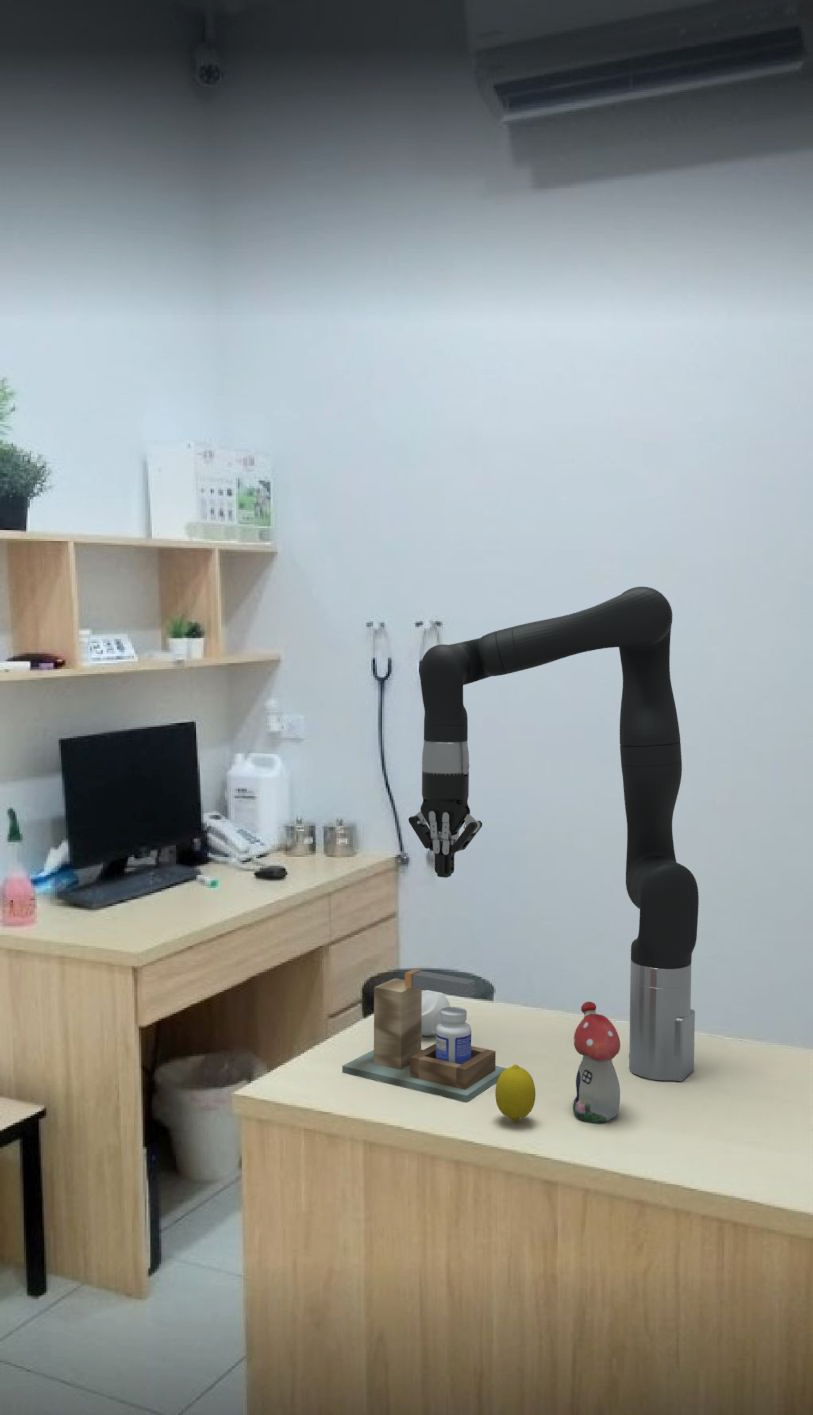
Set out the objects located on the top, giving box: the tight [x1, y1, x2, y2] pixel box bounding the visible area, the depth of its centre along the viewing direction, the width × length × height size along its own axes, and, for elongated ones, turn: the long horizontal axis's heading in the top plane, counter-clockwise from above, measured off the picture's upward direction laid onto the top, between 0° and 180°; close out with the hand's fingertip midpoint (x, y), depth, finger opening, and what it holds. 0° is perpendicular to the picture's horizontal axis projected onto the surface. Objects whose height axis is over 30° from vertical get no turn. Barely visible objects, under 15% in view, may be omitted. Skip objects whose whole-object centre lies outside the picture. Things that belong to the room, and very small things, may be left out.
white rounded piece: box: [421, 990, 451, 1037], centre depth 194 cm, size 8×8×8 cm
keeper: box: [404, 968, 476, 998], centre depth 174 cm, size 11×3×2 cm, turn 58°
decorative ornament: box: [572, 1001, 621, 1124], centre depth 161 cm, size 9×6×15 cm
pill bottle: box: [435, 1006, 472, 1065], centre depth 173 cm, size 5×5×10 cm
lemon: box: [494, 1064, 536, 1123], centre depth 158 cm, size 6×6×8 cm
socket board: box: [341, 977, 508, 1103], centre depth 176 cm, size 22×13×13 cm, turn 58°
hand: (444, 876), depth 184 cm, fingers closed
